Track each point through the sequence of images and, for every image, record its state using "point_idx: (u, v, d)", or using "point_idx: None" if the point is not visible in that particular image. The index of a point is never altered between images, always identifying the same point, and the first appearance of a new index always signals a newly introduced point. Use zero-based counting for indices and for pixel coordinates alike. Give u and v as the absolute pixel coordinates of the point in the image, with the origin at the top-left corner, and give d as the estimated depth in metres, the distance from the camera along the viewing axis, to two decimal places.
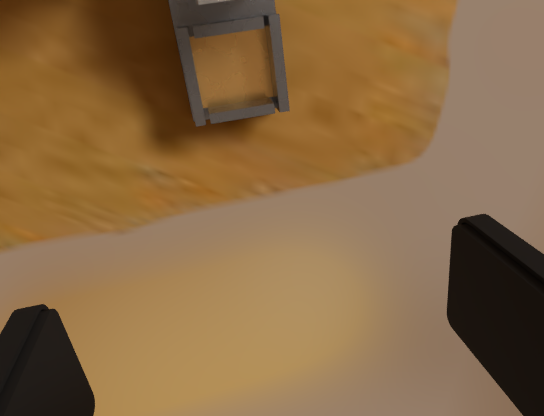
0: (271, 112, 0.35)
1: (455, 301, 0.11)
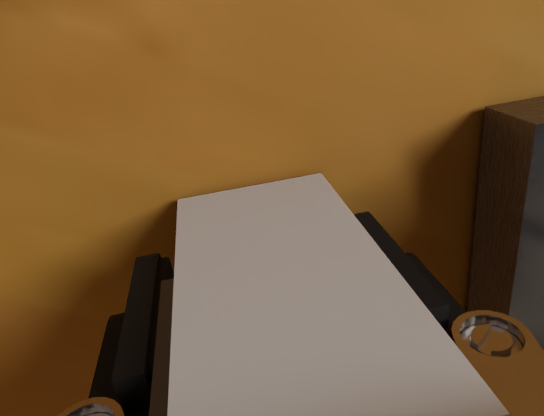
0: None
1: None
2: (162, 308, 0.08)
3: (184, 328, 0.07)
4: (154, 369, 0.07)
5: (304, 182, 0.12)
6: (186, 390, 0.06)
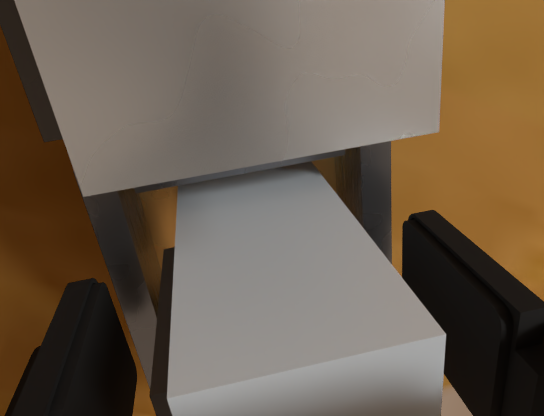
0: None
1: None
2: (164, 270, 0.10)
3: (184, 281, 0.08)
4: (158, 316, 0.08)
5: (293, 166, 0.13)
6: (185, 325, 0.07)
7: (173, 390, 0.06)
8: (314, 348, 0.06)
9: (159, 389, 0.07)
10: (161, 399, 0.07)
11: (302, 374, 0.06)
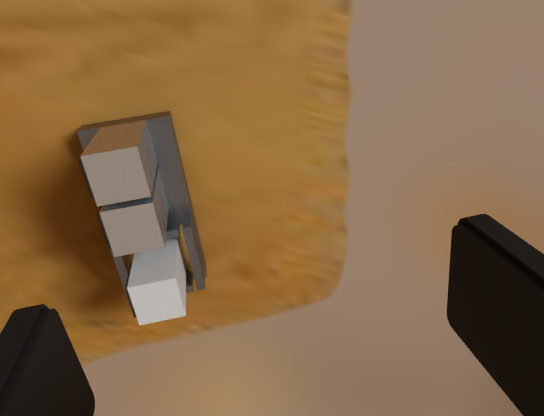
0: (190, 291, 0.44)
1: (454, 301, 0.11)
2: (130, 267, 0.40)
3: (133, 269, 0.38)
4: (127, 277, 0.38)
5: None
6: (132, 277, 0.37)
7: (128, 286, 0.36)
8: (153, 280, 0.36)
9: (126, 288, 0.37)
10: (126, 290, 0.37)
11: (150, 284, 0.36)
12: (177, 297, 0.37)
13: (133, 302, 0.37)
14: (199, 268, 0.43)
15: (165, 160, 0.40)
